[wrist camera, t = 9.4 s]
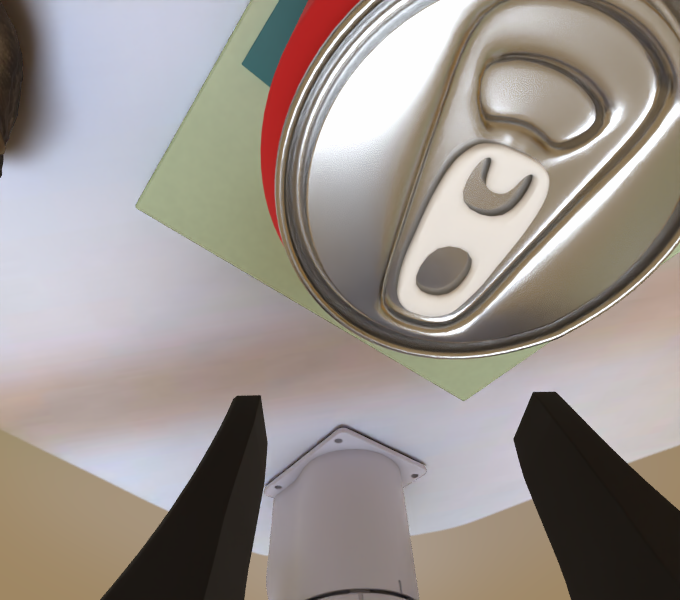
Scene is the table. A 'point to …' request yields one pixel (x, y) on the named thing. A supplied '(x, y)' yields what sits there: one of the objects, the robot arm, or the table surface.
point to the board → (247, 187)
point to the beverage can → (475, 165)
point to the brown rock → (8, 79)
